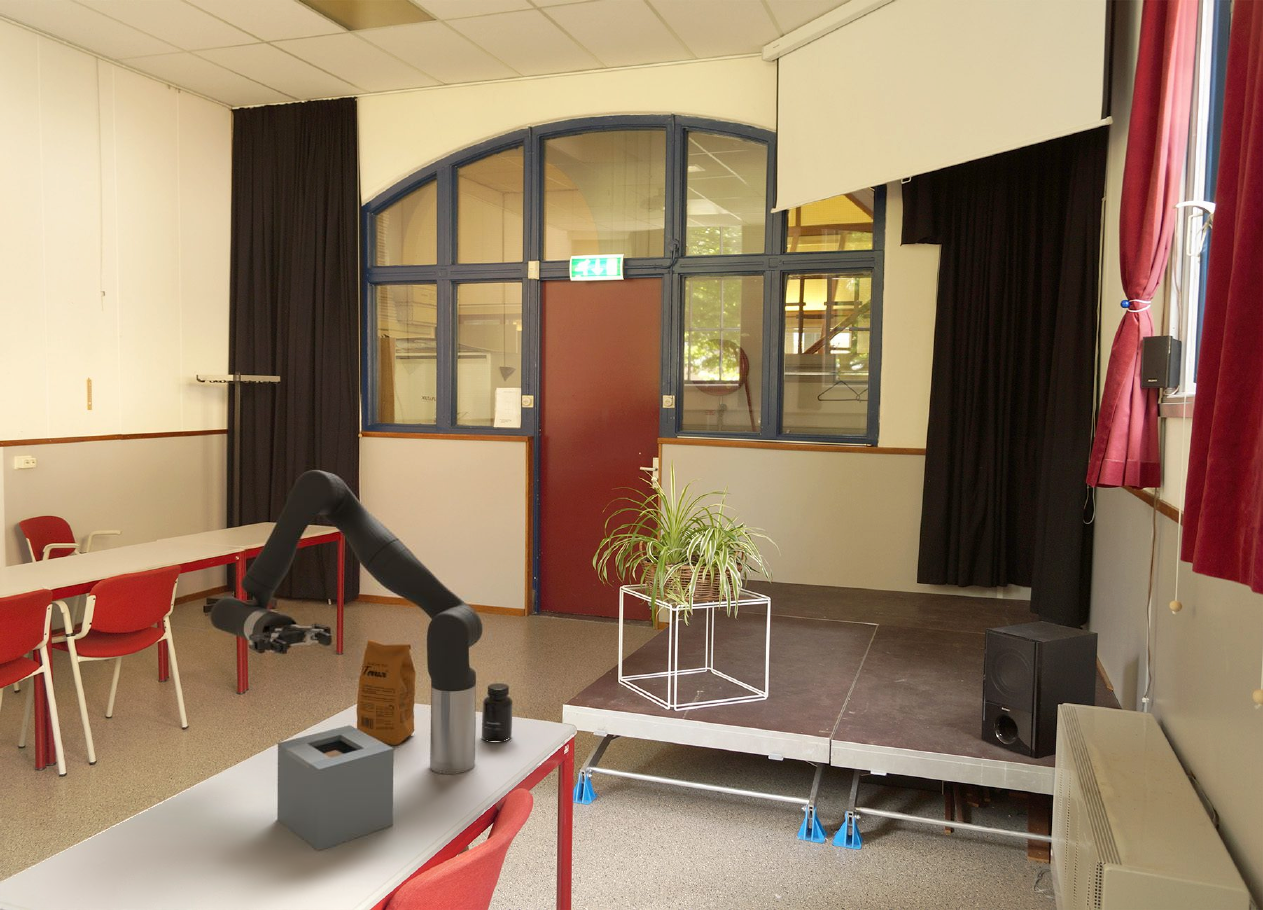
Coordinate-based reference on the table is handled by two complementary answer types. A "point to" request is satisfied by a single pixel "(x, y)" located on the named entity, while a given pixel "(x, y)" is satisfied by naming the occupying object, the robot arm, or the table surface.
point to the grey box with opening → (335, 786)
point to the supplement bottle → (497, 713)
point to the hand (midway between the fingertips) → (307, 644)
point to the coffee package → (386, 693)
